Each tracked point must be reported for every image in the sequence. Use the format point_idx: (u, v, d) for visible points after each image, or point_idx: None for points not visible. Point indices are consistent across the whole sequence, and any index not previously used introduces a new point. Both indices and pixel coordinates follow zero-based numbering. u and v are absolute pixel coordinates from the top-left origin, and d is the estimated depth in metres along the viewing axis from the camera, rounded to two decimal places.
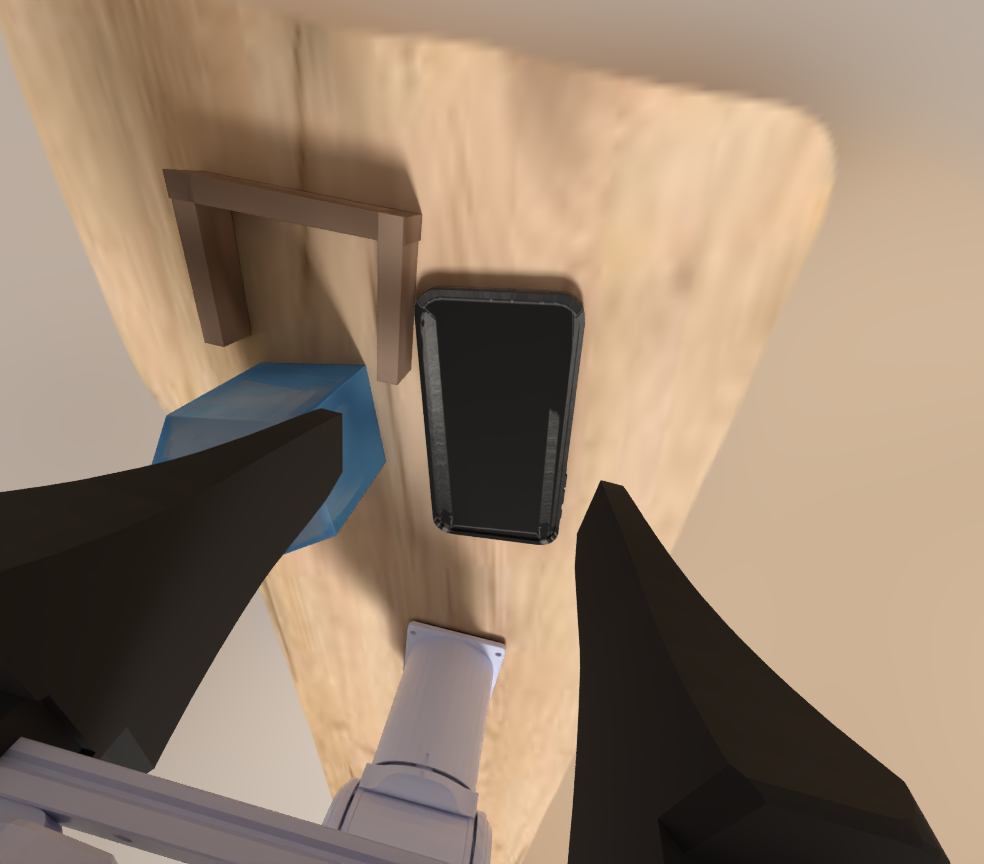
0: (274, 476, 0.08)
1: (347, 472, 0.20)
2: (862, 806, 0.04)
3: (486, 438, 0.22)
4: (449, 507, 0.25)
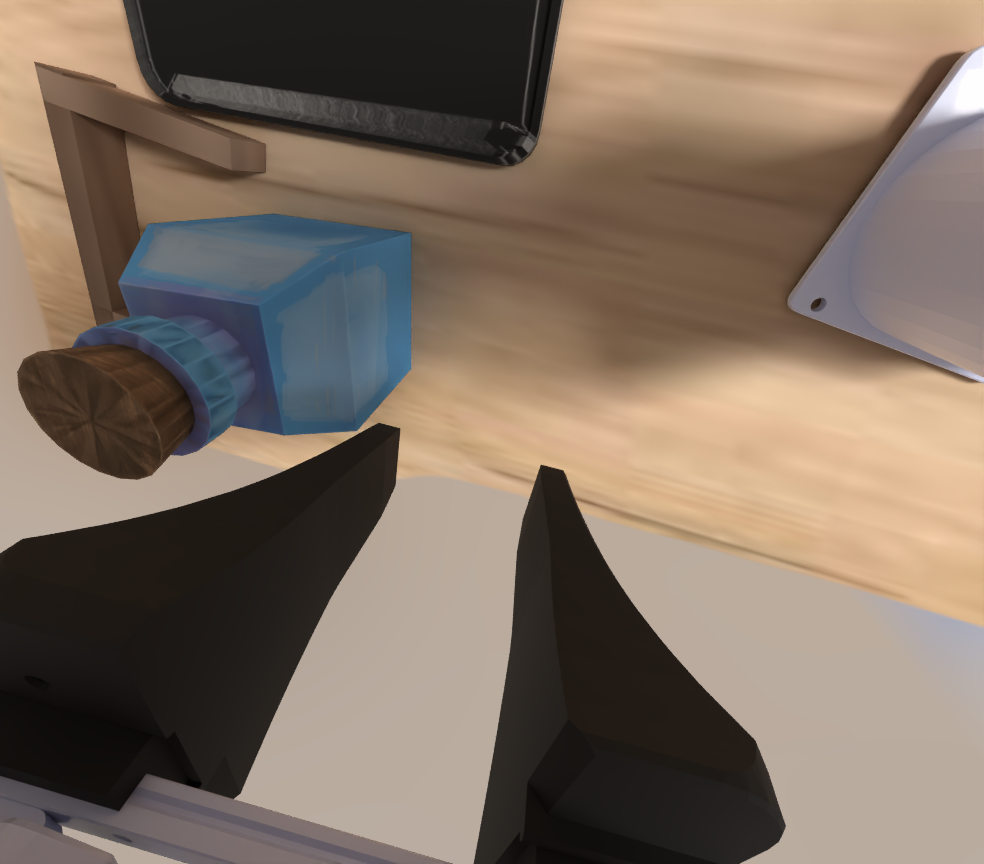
0: (347, 495, 0.08)
1: (311, 235, 0.14)
2: (695, 759, 0.04)
3: (335, 10, 0.13)
4: (480, 124, 0.14)
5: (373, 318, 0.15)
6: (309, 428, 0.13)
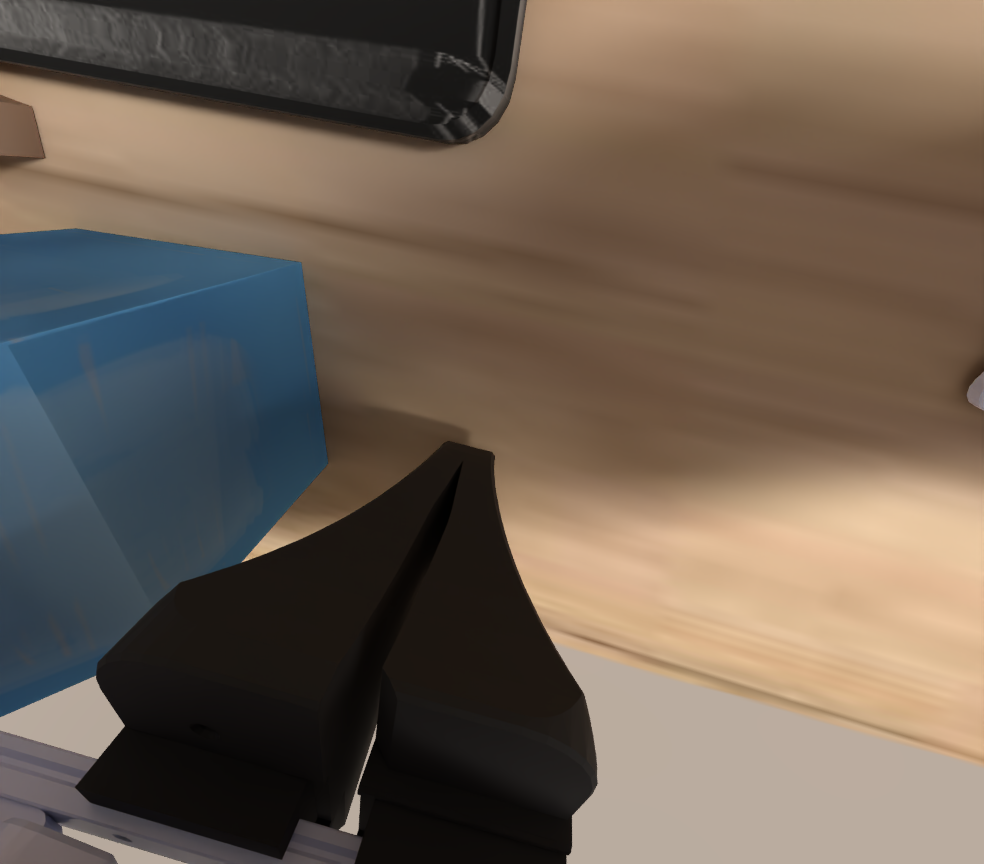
0: (435, 519, 0.08)
1: (42, 281, 0.07)
2: (502, 706, 0.04)
3: None
4: (395, 56, 0.07)
5: (195, 435, 0.08)
6: (9, 703, 0.06)
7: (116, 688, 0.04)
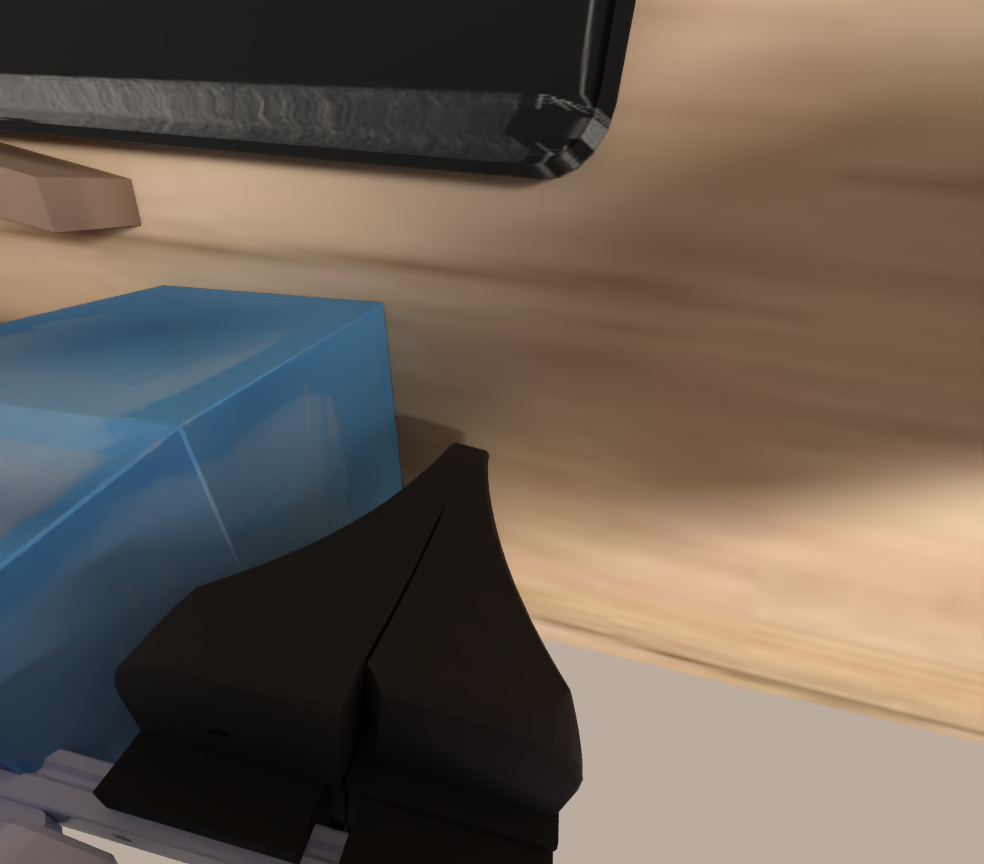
0: None
1: (169, 348, 0.07)
2: (485, 700, 0.04)
3: None
4: (495, 103, 0.07)
5: (311, 486, 0.08)
6: None
7: (134, 693, 0.04)
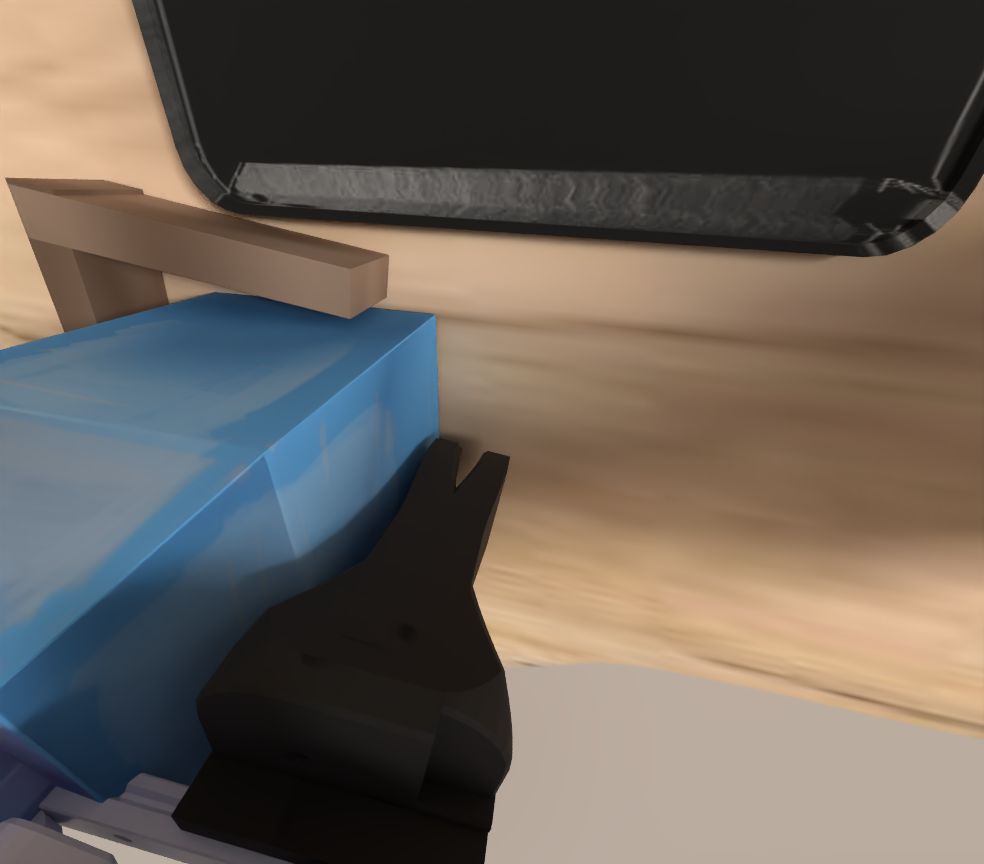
0: (485, 532, 0.08)
1: (236, 363, 0.07)
2: (412, 679, 0.04)
3: (555, 3, 0.07)
4: (834, 186, 0.07)
5: (368, 504, 0.08)
6: None
7: (215, 717, 0.04)
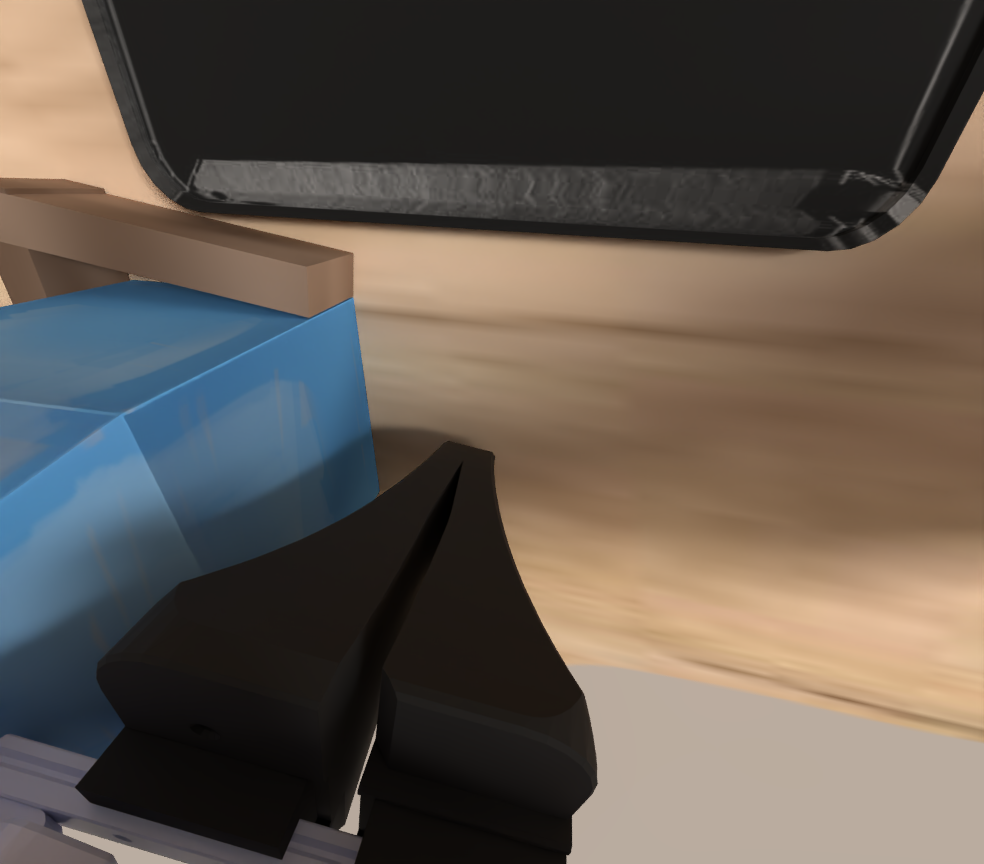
0: (435, 519, 0.08)
1: (126, 340, 0.07)
2: (501, 705, 0.04)
3: None
4: (794, 179, 0.07)
5: (273, 480, 0.08)
6: None
7: (116, 688, 0.04)
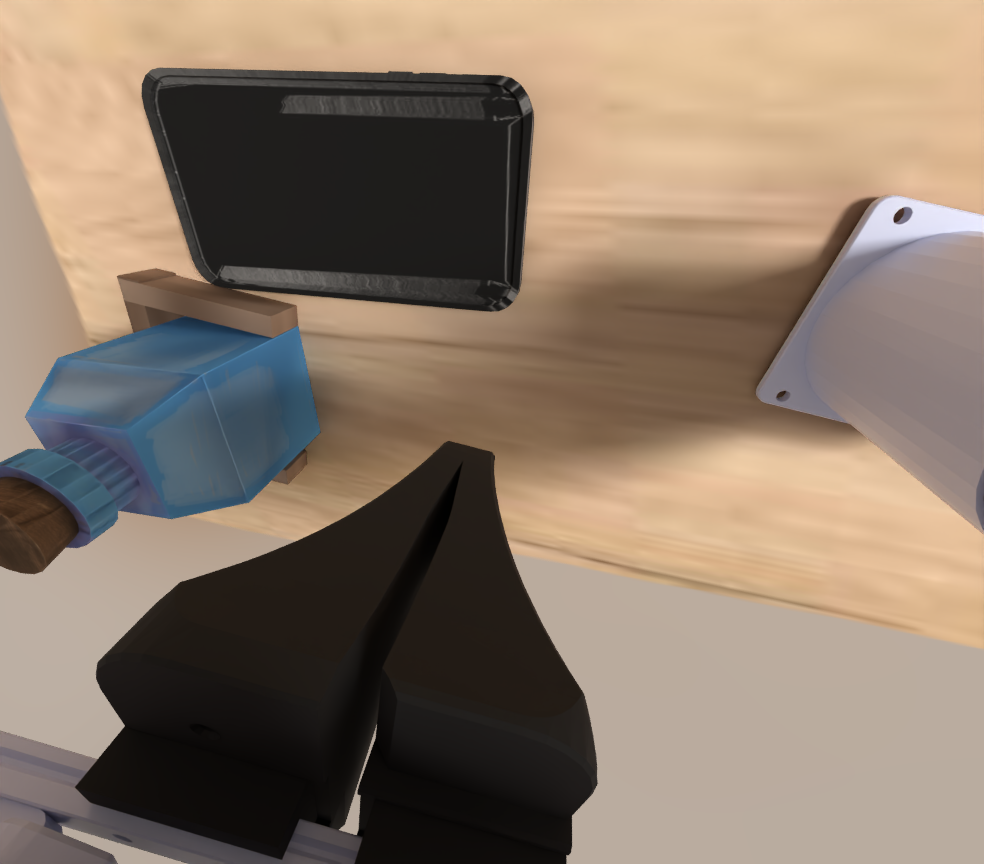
0: (435, 519, 0.08)
1: (195, 349, 0.17)
2: (501, 705, 0.04)
3: (345, 214, 0.16)
4: (470, 283, 0.17)
5: (256, 409, 0.18)
6: (196, 509, 0.16)
7: (116, 688, 0.04)
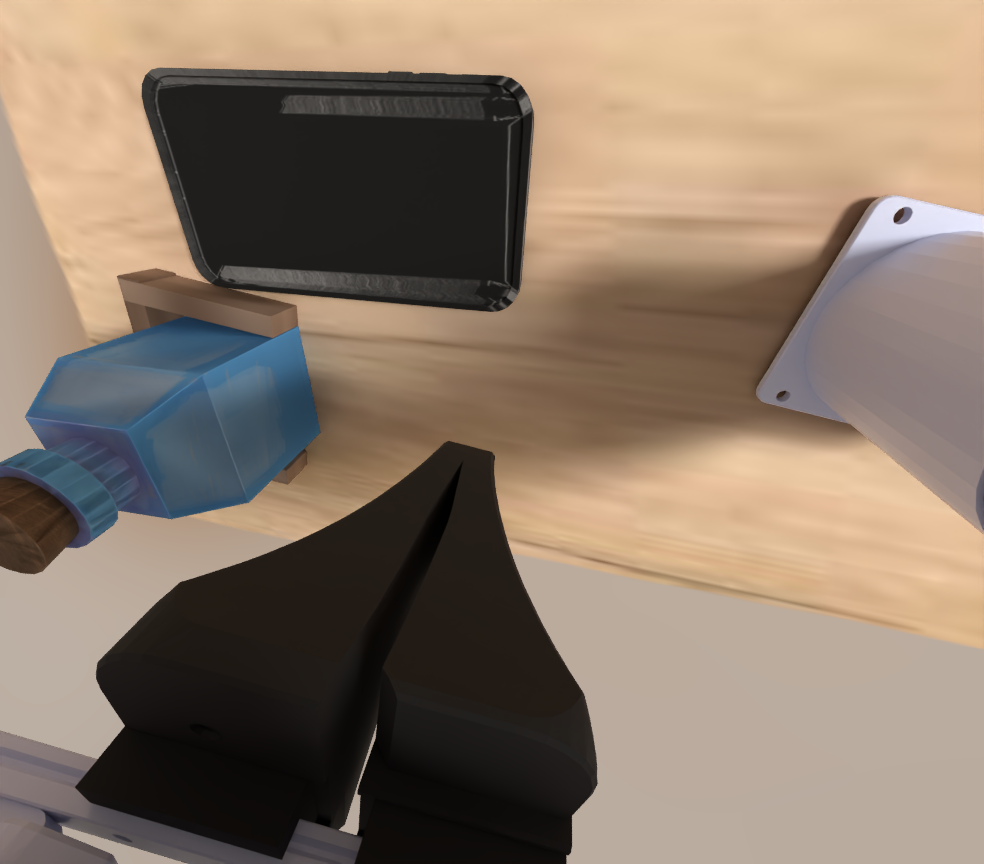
0: (435, 519, 0.08)
1: (195, 349, 0.17)
2: (501, 705, 0.04)
3: (345, 214, 0.16)
4: (470, 283, 0.17)
5: (256, 409, 0.18)
6: (196, 509, 0.16)
7: (116, 688, 0.04)
